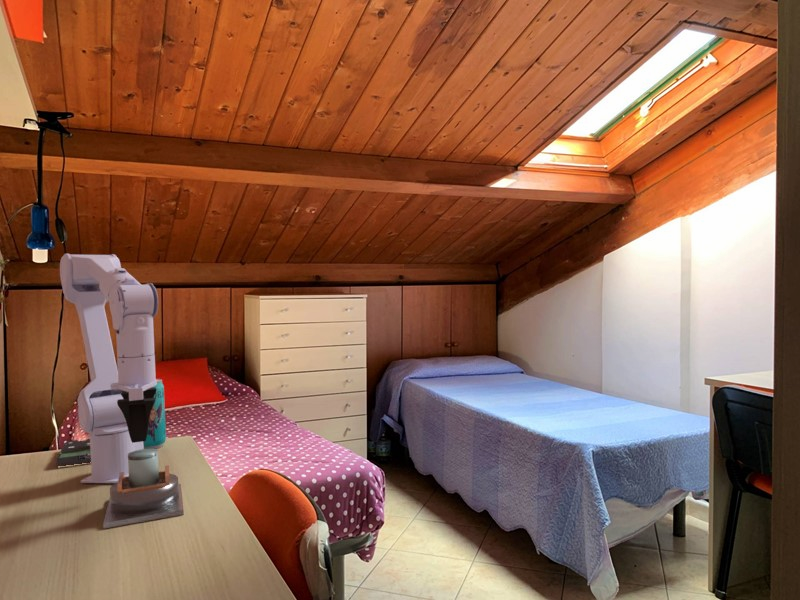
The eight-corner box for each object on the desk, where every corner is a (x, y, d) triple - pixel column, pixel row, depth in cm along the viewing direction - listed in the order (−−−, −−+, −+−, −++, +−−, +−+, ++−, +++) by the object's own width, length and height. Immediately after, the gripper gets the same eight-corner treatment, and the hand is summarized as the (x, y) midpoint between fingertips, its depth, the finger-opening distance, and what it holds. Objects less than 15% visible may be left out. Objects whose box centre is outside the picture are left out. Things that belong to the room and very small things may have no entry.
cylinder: (129, 481, 92) (128, 451, 91) (159, 477, 93) (157, 447, 93) (128, 490, 87) (127, 458, 87) (159, 485, 89) (157, 454, 89)
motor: (110, 499, 94) (109, 468, 94) (180, 488, 99) (179, 458, 98) (103, 528, 82) (101, 492, 82) (183, 514, 87) (182, 480, 87)
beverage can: (141, 452, 122) (138, 383, 122) (136, 446, 127) (133, 380, 127) (169, 447, 126) (166, 380, 126) (162, 442, 130) (160, 377, 130)
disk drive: (65, 453, 126) (56, 471, 113) (64, 441, 126) (55, 457, 113) (116, 446, 130) (114, 462, 117) (116, 434, 130) (113, 449, 117)
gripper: (112, 353, 99) (116, 429, 100) (105, 362, 86) (109, 450, 86) (156, 350, 102) (159, 424, 102) (155, 358, 89) (159, 443, 89)
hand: (139, 436), depth 95 cm, fingers open, 7 cm apart
